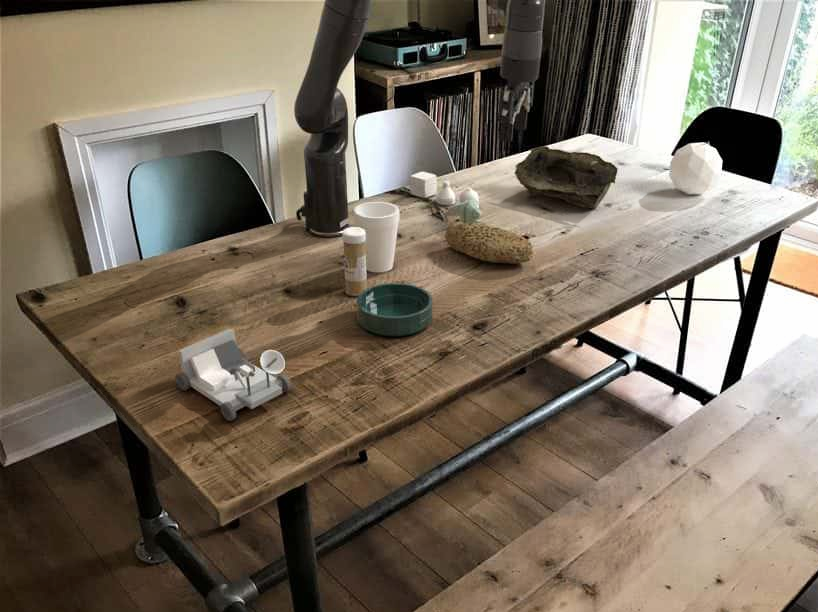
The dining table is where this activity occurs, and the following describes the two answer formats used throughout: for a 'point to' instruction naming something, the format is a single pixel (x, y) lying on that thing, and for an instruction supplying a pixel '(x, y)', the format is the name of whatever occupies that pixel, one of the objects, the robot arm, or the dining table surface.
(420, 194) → the container set
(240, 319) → the dining table surface
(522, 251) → the sponge
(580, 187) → the hollow geode rock
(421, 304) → the bowl
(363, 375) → the dining table surface
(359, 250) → the sprinkles bottle
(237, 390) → the toy car
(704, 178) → the geodesic sphere
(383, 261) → the foam cup
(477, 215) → the mint green faceted piece
